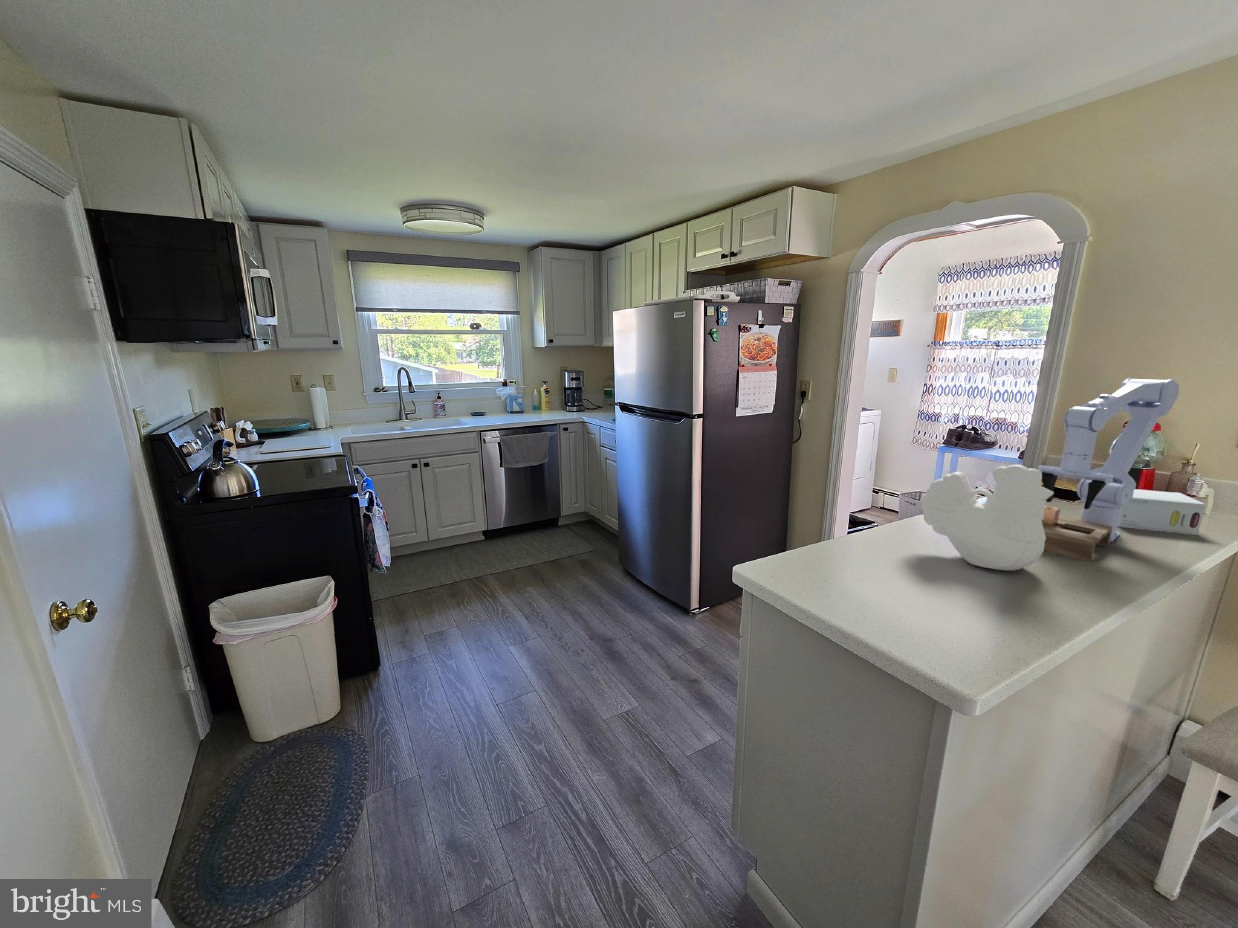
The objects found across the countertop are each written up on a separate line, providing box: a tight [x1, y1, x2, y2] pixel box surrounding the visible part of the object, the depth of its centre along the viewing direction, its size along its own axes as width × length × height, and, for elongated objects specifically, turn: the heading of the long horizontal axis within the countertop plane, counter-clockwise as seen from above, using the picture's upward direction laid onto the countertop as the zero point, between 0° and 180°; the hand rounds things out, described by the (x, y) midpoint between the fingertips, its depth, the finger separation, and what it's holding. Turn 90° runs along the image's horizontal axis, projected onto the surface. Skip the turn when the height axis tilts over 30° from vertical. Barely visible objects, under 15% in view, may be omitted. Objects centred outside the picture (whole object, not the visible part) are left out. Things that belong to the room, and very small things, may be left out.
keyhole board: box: [1042, 515, 1113, 562], centre depth 131 cm, size 18×16×5 cm
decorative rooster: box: [919, 464, 1055, 571], centre depth 119 cm, size 25×16×25 cm, turn 29°
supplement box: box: [1116, 488, 1207, 536], centre depth 145 cm, size 17×13×9 cm
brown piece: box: [1042, 505, 1061, 526], centre depth 133 cm, size 4×4×8 cm
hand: (1067, 504), depth 130 cm, fingers open, 7 cm apart
